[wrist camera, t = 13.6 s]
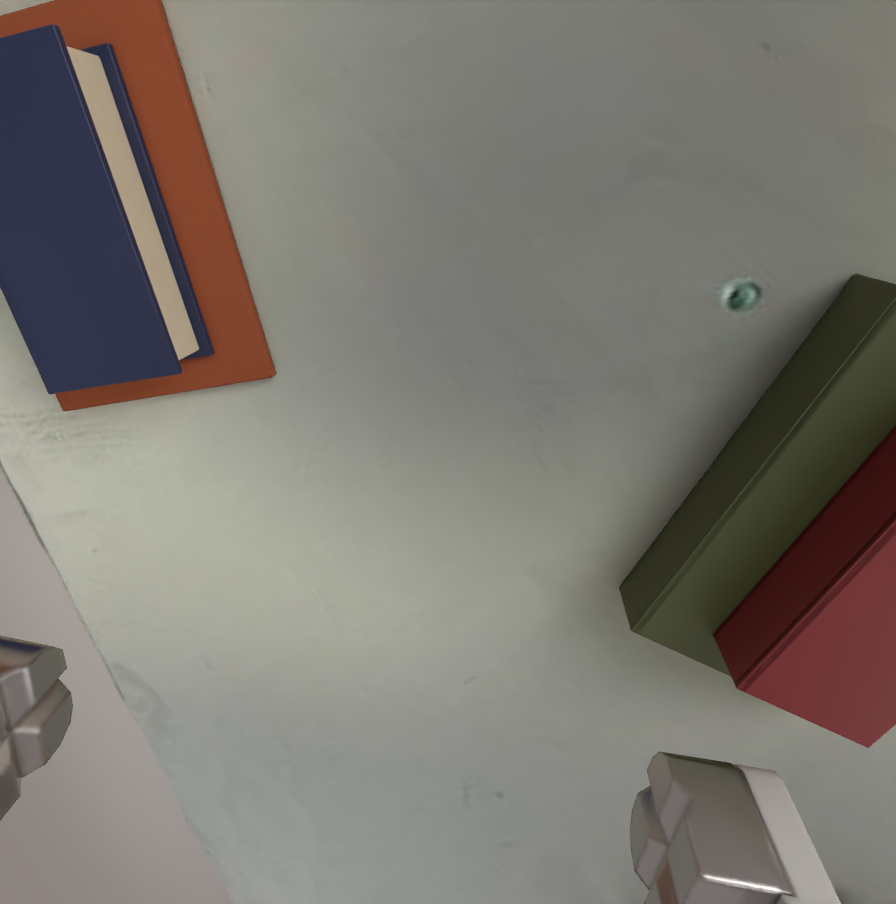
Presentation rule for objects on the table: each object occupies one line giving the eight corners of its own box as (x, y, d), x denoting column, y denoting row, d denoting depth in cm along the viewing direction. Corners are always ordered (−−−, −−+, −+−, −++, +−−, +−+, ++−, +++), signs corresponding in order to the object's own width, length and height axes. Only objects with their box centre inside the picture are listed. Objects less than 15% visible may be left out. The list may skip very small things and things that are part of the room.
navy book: (-25, 78, 22) (-102, 63, 19) (112, 44, 21) (52, 23, 18) (96, 372, 26) (48, 394, 23) (215, 353, 25) (179, 374, 22)
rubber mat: (-94, 48, 22) (-107, 45, 21) (154, -23, 20) (146, -27, 20) (70, 408, 27) (63, 411, 27) (276, 374, 26) (272, 377, 25)
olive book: (855, 273, 22) (904, 286, 19) (1114, 414, 23) (1195, 445, 21) (618, 588, 29) (630, 631, 26) (831, 686, 30) (864, 737, 27)
